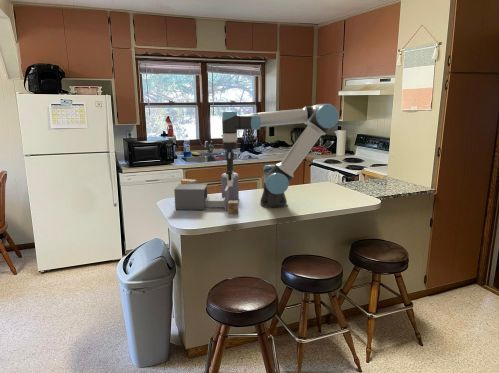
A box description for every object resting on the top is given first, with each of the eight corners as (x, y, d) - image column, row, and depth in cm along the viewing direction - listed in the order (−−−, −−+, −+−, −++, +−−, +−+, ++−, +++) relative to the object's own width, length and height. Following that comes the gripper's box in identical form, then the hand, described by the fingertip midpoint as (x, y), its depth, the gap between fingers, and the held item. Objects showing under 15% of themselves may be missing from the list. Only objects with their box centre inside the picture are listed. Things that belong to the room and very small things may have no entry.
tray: (229, 204, 217) (228, 185, 214) (227, 210, 205) (226, 190, 203) (202, 204, 217) (201, 185, 215) (199, 210, 206) (198, 190, 203)
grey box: (207, 204, 217) (206, 184, 215) (204, 210, 206) (203, 189, 203) (180, 204, 218) (179, 184, 215) (175, 210, 206) (174, 189, 203)
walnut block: (238, 211, 205) (238, 200, 203) (237, 213, 200) (237, 203, 198) (229, 211, 205) (228, 200, 203) (228, 213, 200) (228, 203, 198)
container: (220, 197, 233) (219, 173, 229) (236, 195, 236) (235, 172, 232) (224, 201, 223) (223, 176, 220) (240, 200, 226) (240, 175, 223)
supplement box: (181, 201, 224) (180, 180, 221) (185, 199, 228) (184, 178, 225) (193, 202, 221) (192, 181, 218) (197, 200, 225) (196, 179, 222)
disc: (238, 175, 203) (238, 172, 202) (237, 178, 195) (237, 175, 194) (223, 175, 203) (223, 172, 202) (222, 178, 195) (222, 175, 194)
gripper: (224, 139, 204) (224, 180, 210) (221, 143, 184) (221, 188, 190) (237, 139, 204) (238, 180, 210) (236, 143, 184) (236, 189, 190)
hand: (230, 184), depth 200 cm, fingers closed on disc, 8 cm apart
